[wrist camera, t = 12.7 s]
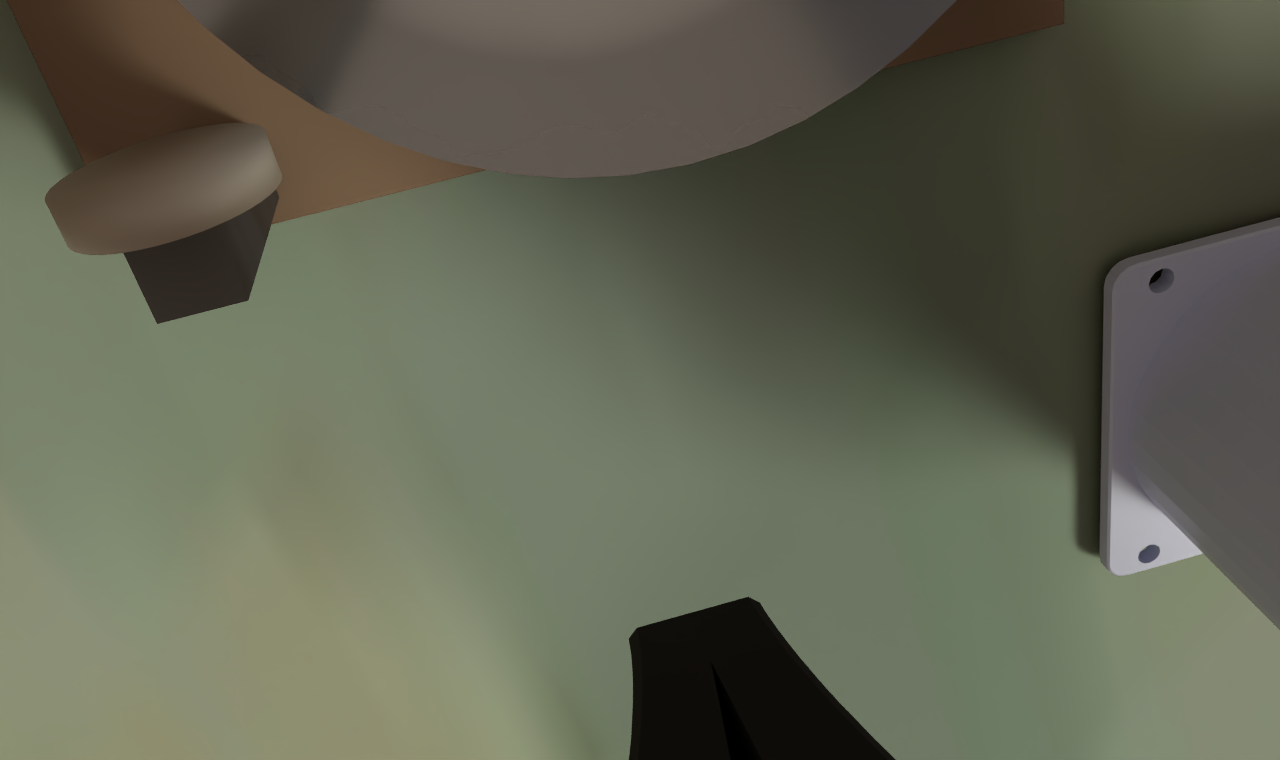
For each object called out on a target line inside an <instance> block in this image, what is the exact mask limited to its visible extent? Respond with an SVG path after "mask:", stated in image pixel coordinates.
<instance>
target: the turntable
mask: <svg viewBox="0 0 1280 760" xmlns="http://www.w3.org/2000/svg"><path fill="white" fill-rule="evenodd" d="M178 1H179V2H180V3H181V4H182V5H183V6H184V7H185V8H186V9H187V10H188V11H189V12H190V13H191V14H192V16H193V17H194V18H195V19H196V20H197V21H198V22H199V23H200V24H202V25H203V26H204V27H205V28H206V29H208V30H209V31H210V32H211V33H213V34H214V35H215V36H216V37H218V38H219V39H220V40H221V41H223V42H224V43H225V44H226V45H227V46H229V47H230V48H231V49H232V50H234V51H235V52H236V53H237V54H239V55H240V56H241V57H242V58H243V59H245V60H246V61H247V62H248V63H250V64H251V65H252V66H253V67H255V68H256V69H257V70H258V71H260V72H261V73H263V74H264V75H266V76H267V77H269V78H270V79H272V80H274V81H275V82H277V83H278V84H280V85H282V86H283V87H285V88H286V89H288V90H289V91H291V92H293V93H294V94H296V95H297V96H299V97H300V98H302V99H304V100H305V101H307V102H308V103H310V104H311V105H313V106H315V107H316V108H318V109H319V110H321V111H323V112H325V113H327V114H329V115H331V116H334V117H336V118H338V119H340V120H342V121H344V122H346V123H348V124H350V125H352V126H354V127H357V128H359V129H361V130H363V131H365V132H367V133H369V134H371V135H373V136H375V137H377V138H380V139H382V140H384V141H387V142H390V143H393V144H396V145H399V146H402V147H405V148H408V149H411V150H414V151H417V152H420V153H423V154H426V155H429V156H432V157H435V158H438V159H441V160H444V161H447V162H452V163H457V164H462V165H467V166H472V167H477V168H482V169H487V170H492V171H497V172H502V173H507V174H518V175H531V176H545V177H558V178H586V177H604V176H623V175H634V174H640V173H645V172H651V171H656V170H662V169H667V168H673V167H678V166H684V165H689V164H693V163H696V162H699V161H702V160H705V159H709V158H712V157H715V156H718V155H721V154H725V153H728V152H731V151H734V150H737V149H740V148H744V147H747V146H749V145H752V144H754V143H756V142H758V141H760V140H763V139H765V138H767V137H769V136H771V135H773V134H776V133H778V132H780V131H782V130H784V129H787V128H789V127H791V126H793V125H795V124H798V123H800V122H802V121H804V120H806V119H807V118H809V117H811V116H812V115H814V114H816V113H817V112H819V111H821V110H822V109H824V108H825V107H827V106H829V105H830V104H832V103H834V102H835V101H837V100H838V99H840V98H842V97H843V96H845V95H847V94H848V93H850V92H852V91H853V90H855V89H856V88H858V87H859V86H861V85H862V84H863V83H864V82H866V81H867V80H868V79H870V78H871V77H872V76H873V75H875V74H876V73H877V72H878V71H880V70H881V69H882V68H884V67H885V66H886V65H887V64H889V63H890V62H891V61H892V60H894V59H895V58H896V57H898V56H899V55H900V54H901V53H903V52H904V51H905V50H906V49H908V48H909V47H910V46H911V45H912V44H913V43H914V42H915V41H916V40H917V39H918V38H919V37H920V36H921V35H922V34H923V33H924V32H925V31H926V30H927V29H928V28H929V27H930V26H931V25H932V24H933V23H934V22H935V21H936V20H937V19H938V18H939V17H940V16H941V15H942V14H943V13H944V12H945V11H946V10H947V9H948V8H949V7H950V6H951V5H952V4H953V3H954V2H955V1H956V0H178Z"/></svg>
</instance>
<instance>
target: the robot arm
mask: <svg viewBox="0 0 1280 760" xmlns="http://www.w3.org/2000/svg"><path fill="white" fill-rule="evenodd" d="M1161 269H1163V271H1162V274H1161V276H1160V278H1159V279H1158V280H1157V281H1156V282H1154V283H1152V284H1150V285H1149V282H1150V278H1151V277H1152V276H1153V275H1154V273H1155V272H1157V271H1159V270H1161ZM1146 546H1147V547H1146ZM1144 547H1146V549H1145V550H1143V551H1141V550H1142V549H1143V548H1144ZM1140 551H1141V552H1140ZM1200 554H1204V555H1205V556H1206V557H1207V558H1208V559H1209V560H1210V561H1211V562H1212V563H1213V564H1214V565H1215V566H1216V567H1217V568H1218V569H1219V570H1220V571H1221V572H1222V573H1223V574H1224V575H1225V576H1226V577H1227V578H1228V579H1229V580H1230V581H1231V582H1232V583H1233V584H1234V585H1235V586H1236V587H1237V588H1238V589H1239V590H1240V591H1241V592H1242V593H1243V594H1244V595H1245V596H1246V597H1247V598H1248V599H1249V600H1250V601H1251V602H1252V603H1253V604H1254V605H1255V606H1256V607H1257V608H1258V609H1259V610H1260V611H1261V612H1262V613H1263V614H1264V615H1265V616H1266V617H1267V618H1268V619H1269V620H1270V621H1271V622H1272V623H1273V624H1274V625H1275V626H1276V627H1277V628H1278V629H1279V630H1280V217H1279V218H1275V219H1271V220H1267V221H1264V222H1260V223H1256V224H1252V225H1249V226H1245V227H1241V228H1237V229H1234V230H1230V231H1226V232H1222V233H1219V234H1215V235H1211V236H1207V237H1204V238H1200V239H1196V240H1192V241H1189V242H1185V243H1181V244H1177V245H1174V246H1170V247H1166V248H1162V249H1159V250H1155V251H1151V252H1147V253H1144V254H1140V255H1136V256H1132V257H1129V258H1126V259H1124V260H1122V261H1120V262H1118V263H1117V264H1116V265H1115V266H1114V267H1113V268H1112V269H1111V270H1110V272H1109V273H1108V275H1107V277H1106V279H1105V284H1104V314H1103V375H1102V436H1101V497H1100V560H1101V563H1102V564H1103V565H1104V566H1105V567H1106V569H1107V570H1108V571H1109V572H1110V573H1111V574H1113V575H1117V576H1123V575H1129V574H1132V573H1136V572H1140V571H1143V570H1147V569H1150V568H1154V567H1157V566H1161V565H1164V564H1168V563H1171V562H1175V561H1178V560H1182V559H1186V558H1189V557H1193V556H1196V555H1200ZM629 643H630V649H631V655H632V669H633V715H632V735H631V746H630V756H629V760H895V759H894V758H893V757H892V756H891V755H890V754H889V753H888V752H887V751H886V750H885V749H884V748H883V747H882V746H881V745H880V744H879V743H878V742H877V741H876V740H875V739H874V738H873V737H872V736H871V735H870V734H869V733H868V732H867V731H866V730H865V729H864V728H863V727H862V726H861V725H860V724H859V722H858V721H857V720H856V719H855V718H854V717H853V716H852V715H851V714H850V713H849V712H848V711H847V710H846V709H845V708H844V707H843V706H842V705H841V704H840V703H839V702H838V701H837V700H836V699H835V697H834V696H833V695H832V694H831V693H830V692H829V691H828V690H827V689H826V688H825V686H824V685H823V684H822V683H821V682H820V681H819V680H818V678H817V677H816V676H815V675H814V674H813V673H812V671H811V670H810V669H809V668H808V667H807V666H806V664H805V663H804V662H803V661H802V660H801V659H800V657H799V656H798V655H797V654H796V652H795V651H794V650H793V649H792V647H791V646H790V645H789V644H788V642H787V641H786V640H785V638H784V637H783V636H782V635H781V633H780V632H779V631H778V629H777V628H776V626H775V625H774V624H773V622H772V621H771V619H770V618H769V616H768V615H767V613H766V612H765V610H764V609H763V607H762V606H761V604H760V603H759V602H757V601H755V600H753V599H751V598H749V597H746V598H743V599H739V600H735V601H732V602H728V603H725V604H721V605H717V606H714V607H710V608H707V609H703V610H699V611H696V612H692V613H689V614H685V615H681V616H678V617H674V618H671V619H667V620H664V621H660V622H656V623H653V624H649V625H646V626H642V627H638V628H637V629H636V630H635V631H634V633H633V634H632V635H631V637H630V638H629Z"/></svg>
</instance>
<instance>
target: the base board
mask: <svg viewBox="0 0 1280 760" xmlns="http://www.w3.org/2000/svg"><path fill="white" fill-rule="evenodd" d="M7 2H8V4H9V6H10V8H11V10H12V12H13V14H14V16H15V18H16V20H17V23H18V25H19V27H20V29H21V31H22V33H23V35H24V37H25V39H26V42H27V44H28V46H29V48H30V50H31V52H32V54H33V56H34V58H35V61H36V63H37V65H38V67H39V69H40V71H41V73H42V75H43V77H44V79H45V82H46V84H47V86H48V88H49V90H50V92H51V94H52V96H53V98H54V101H55V103H56V105H57V107H58V109H59V111H60V113H61V115H62V117H63V119H64V122H65V124H66V126H67V128H68V130H69V132H70V134H71V136H72V138H73V141H74V143H75V145H76V147H77V149H78V151H79V153H80V155H81V157H82V160H83V162H84V164H85V166H83V167H81V168H80V169H78V170H76V171H74V172H73V173H71V174H69V175H68V176H66V177H65V178H63V179H62V180H60V181H59V182H58V183H56V184H55V185H54V186H53V187H52V188H51V189H50V190H49V191H48V193H47V194H46V197H45V202H46V204H47V206H48V208H49V210H50V212H51V214H52V216H53V218H54V220H55V222H56V224H57V226H58V228H59V230H60V232H61V234H62V236H63V238H64V240H65V242H66V244H67V246H68V247H69V248H70V249H71V250H72V251H74V252H77V253H81V254H88V255H107V254H118V253H124V255H125V257H126V259H127V261H128V264H129V266H130V268H131V270H132V272H133V274H134V276H135V278H136V280H137V282H138V285H139V287H140V289H141V291H142V293H143V295H144V297H145V299H146V301H147V303H148V306H149V308H150V310H151V312H152V314H153V316H154V318H155V320H156V322H157V324H158V323H162V322H166V321H170V320H174V319H178V318H182V317H186V316H190V315H194V314H197V313H201V312H205V311H209V310H213V309H217V308H221V307H225V306H229V305H232V304H236V303H240V302H244V301H248V299H249V296H250V293H251V289H252V286H253V283H254V280H255V276H256V273H257V270H258V266H259V263H260V260H261V256H262V253H263V250H264V246H265V243H266V240H267V237H268V233H269V230H270V227H271V224H275V223H278V222H282V221H286V220H290V219H294V218H298V217H302V216H306V215H310V214H314V213H318V212H322V211H326V210H330V209H334V208H338V207H342V206H346V205H350V204H353V203H357V202H361V201H365V200H369V199H373V198H377V197H381V196H385V195H389V194H393V193H397V192H401V191H405V190H409V189H413V188H417V187H421V186H425V185H428V184H432V183H436V182H440V181H444V180H448V179H452V178H456V177H460V176H464V175H468V174H472V173H476V172H480V171H484V170H487V169H482V168H477V167H472V166H467V165H462V164H457V163H452V162H447V161H444V160H441V159H438V158H435V157H432V156H429V155H426V154H423V153H420V152H417V151H414V150H411V149H408V148H405V147H402V146H399V145H396V144H393V143H390V142H387V141H384V140H382V139H380V138H377V137H375V136H373V135H371V134H369V133H367V132H365V131H363V130H361V129H359V128H357V127H354V126H352V125H350V124H348V123H346V122H344V121H342V120H340V119H338V118H336V117H334V116H331V115H329V114H327V113H325V112H323V111H321V110H319V109H318V108H316V107H315V106H313V105H311V104H310V103H308V102H307V101H305V100H304V99H302V98H300V97H299V96H297V95H296V94H294V93H293V92H291V91H289V90H288V89H286V88H285V87H283V86H282V85H280V84H278V83H277V82H275V81H274V80H272V79H270V78H269V77H267V76H266V75H264V74H263V73H261V72H260V71H258V70H257V69H256V68H255V67H253V66H252V65H251V64H250V63H248V62H247V61H246V60H245V59H243V58H242V57H241V56H240V55H239V54H237V53H236V52H235V51H234V50H232V49H231V48H230V47H229V46H227V45H226V44H225V43H224V42H223V41H221V40H220V39H219V38H218V37H216V36H215V35H214V34H213V33H211V32H210V31H209V30H208V29H206V28H205V27H204V26H203V25H202V24H200V23H199V22H198V21H197V20H196V19H195V18H194V17H193V16H192V14H191V13H190V12H189V11H188V10H187V9H186V8H185V7H184V6H183V5H182V4H181V3H180V2H179V1H178V0H7ZM1060 24H1064V0H956V1H955V2H954V3H953V4H952V5H951V6H950V7H949V8H948V9H947V10H946V11H945V12H944V13H943V14H942V15H941V16H940V17H939V18H938V19H937V20H936V21H935V22H934V23H933V24H932V25H931V26H930V27H929V28H928V29H927V30H926V31H925V32H924V33H923V34H922V35H921V36H920V37H919V38H918V39H917V40H916V41H915V42H914V43H913V44H912V45H911V46H910V47H909V48H908V49H906V50H905V51H904V52H903V53H901V54H900V55H899V56H898V57H896V58H895V59H894V60H892V61H891V62H890V63H889V64H887V65H886V66H885V67H884V68H882V69H886V68H890V67H894V66H898V65H902V64H906V63H910V62H914V61H918V60H922V59H926V58H930V57H934V56H938V55H942V54H946V53H950V52H953V51H957V50H961V49H965V48H969V47H973V46H977V45H981V44H985V43H989V42H993V41H997V40H1001V39H1005V38H1009V37H1013V36H1017V35H1021V34H1025V33H1028V32H1032V31H1036V30H1040V29H1044V28H1048V27H1052V26H1056V25H1060ZM882 69H881V70H882Z"/></svg>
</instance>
